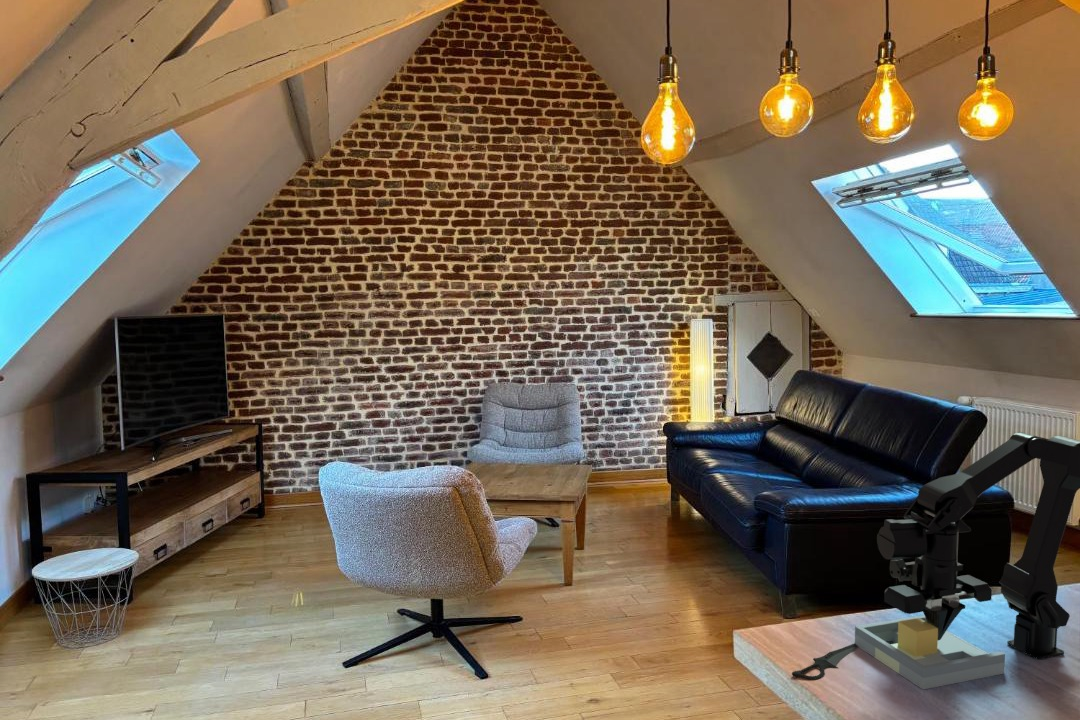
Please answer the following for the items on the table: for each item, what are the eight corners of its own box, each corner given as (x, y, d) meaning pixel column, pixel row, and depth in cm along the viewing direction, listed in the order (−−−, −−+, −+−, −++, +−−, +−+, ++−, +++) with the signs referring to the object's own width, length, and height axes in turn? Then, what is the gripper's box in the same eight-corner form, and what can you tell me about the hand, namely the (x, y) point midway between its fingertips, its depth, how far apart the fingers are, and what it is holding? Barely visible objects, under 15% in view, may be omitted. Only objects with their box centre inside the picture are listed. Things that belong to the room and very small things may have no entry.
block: (918, 641, 142) (919, 618, 142) (937, 652, 138) (938, 628, 137) (897, 645, 141) (898, 621, 141) (916, 656, 137) (916, 632, 136)
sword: (808, 686, 132) (809, 681, 132) (786, 675, 135) (787, 669, 135) (891, 642, 148) (892, 637, 148) (870, 633, 151) (870, 628, 151)
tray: (929, 631, 151) (929, 613, 150) (1004, 673, 134) (1005, 653, 134) (854, 644, 146) (855, 626, 146) (923, 689, 130) (923, 669, 129)
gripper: (946, 535, 149) (944, 614, 151) (864, 546, 144) (862, 628, 146) (995, 555, 139) (992, 639, 140) (908, 568, 133) (905, 655, 135)
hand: (936, 639), depth 141 cm, fingers closed
